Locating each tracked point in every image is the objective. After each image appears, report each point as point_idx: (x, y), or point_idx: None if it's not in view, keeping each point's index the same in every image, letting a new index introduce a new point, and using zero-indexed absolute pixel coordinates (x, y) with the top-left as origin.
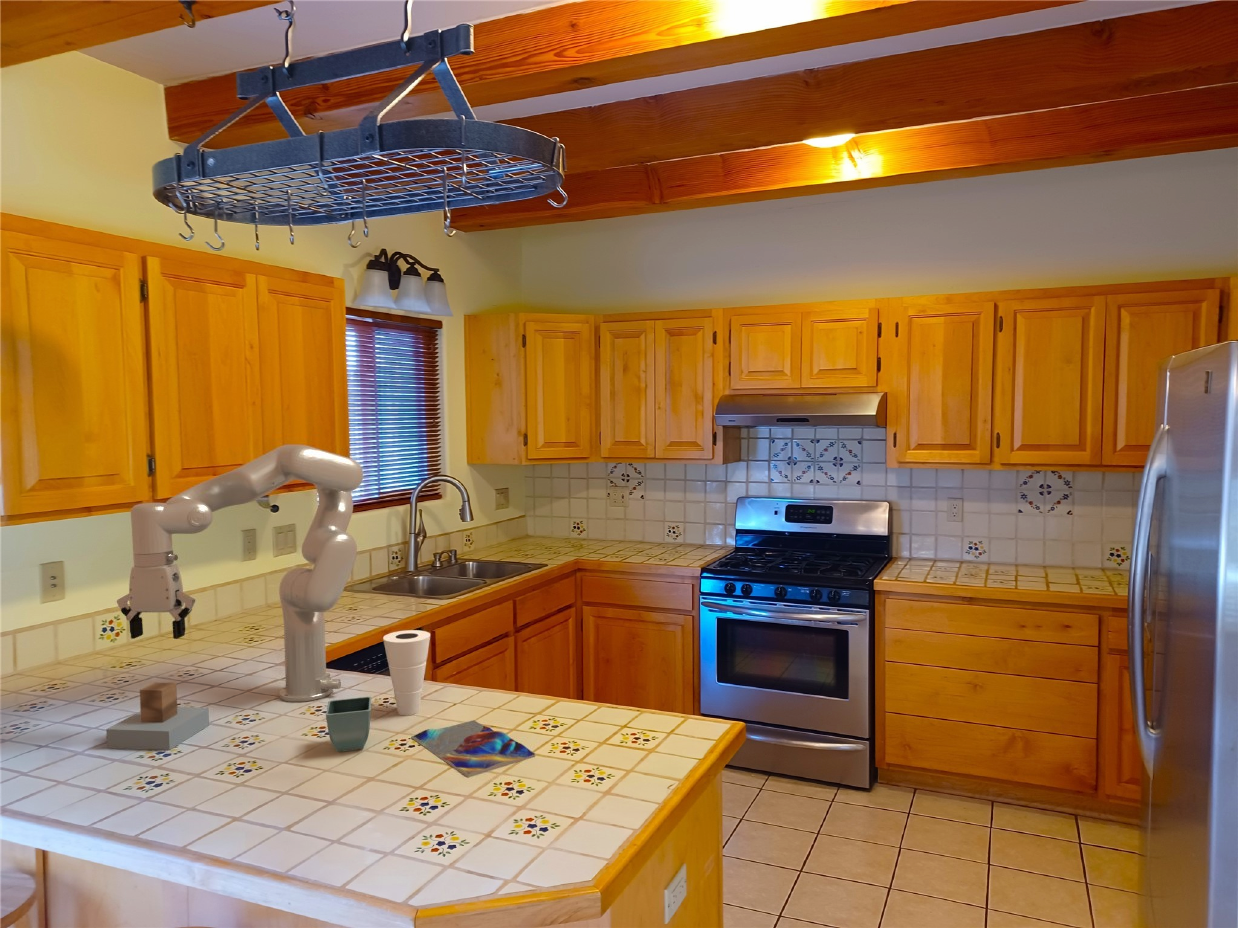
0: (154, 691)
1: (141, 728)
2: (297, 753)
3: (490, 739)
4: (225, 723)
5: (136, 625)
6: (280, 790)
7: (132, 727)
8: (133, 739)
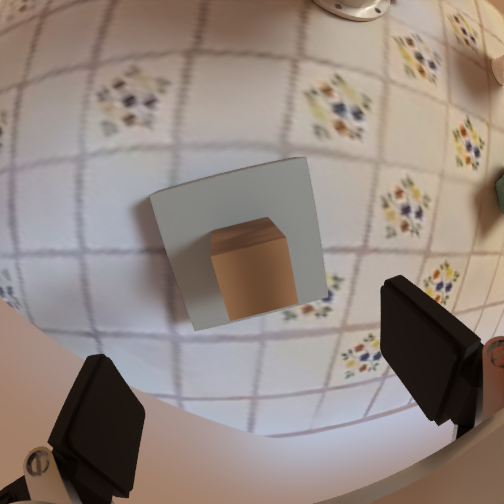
0: (275, 307)
1: None
2: (474, 225)
3: None
4: (319, 140)
5: (119, 450)
6: (480, 305)
7: None
8: None
